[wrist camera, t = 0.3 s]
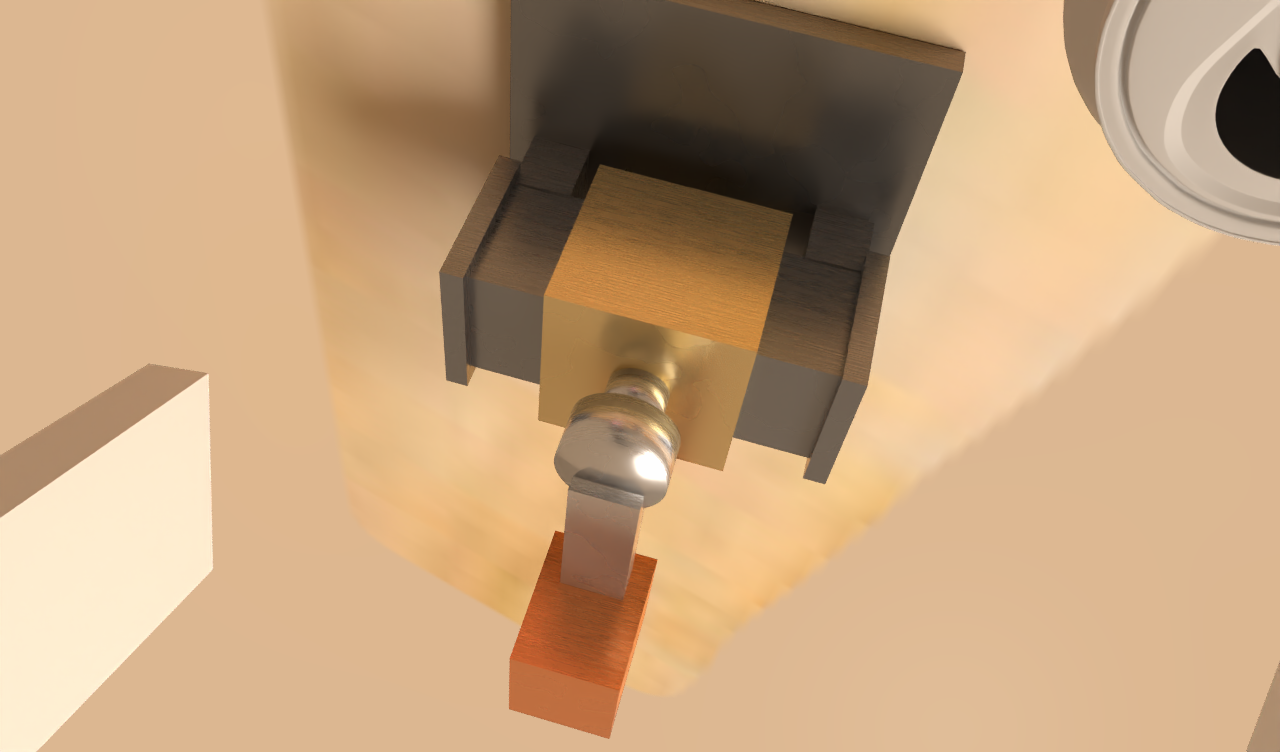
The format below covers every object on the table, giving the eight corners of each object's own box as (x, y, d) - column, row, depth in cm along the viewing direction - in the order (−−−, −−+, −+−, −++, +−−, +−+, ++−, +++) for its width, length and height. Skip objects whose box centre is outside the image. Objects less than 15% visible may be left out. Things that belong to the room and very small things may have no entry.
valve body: (522, -56, 28) (397, 151, 23) (965, 52, 27) (932, 289, 22) (516, 313, 39) (432, 504, 34) (829, 397, 38) (788, 605, 33)
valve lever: (570, 379, 27) (511, 531, 24) (691, 412, 27) (646, 569, 24) (553, 579, 35) (509, 709, 33) (647, 606, 35) (609, 738, 32)
